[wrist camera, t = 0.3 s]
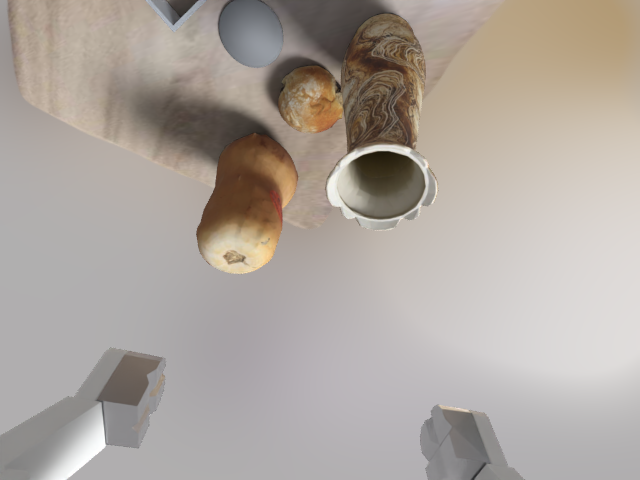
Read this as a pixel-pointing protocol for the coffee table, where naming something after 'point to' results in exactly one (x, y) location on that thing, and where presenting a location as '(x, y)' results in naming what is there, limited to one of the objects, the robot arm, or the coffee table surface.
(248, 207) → the butternut squash
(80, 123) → the coffee table surface
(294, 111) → the bread roll
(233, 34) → the pad
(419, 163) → the vase
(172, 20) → the grey square frame
